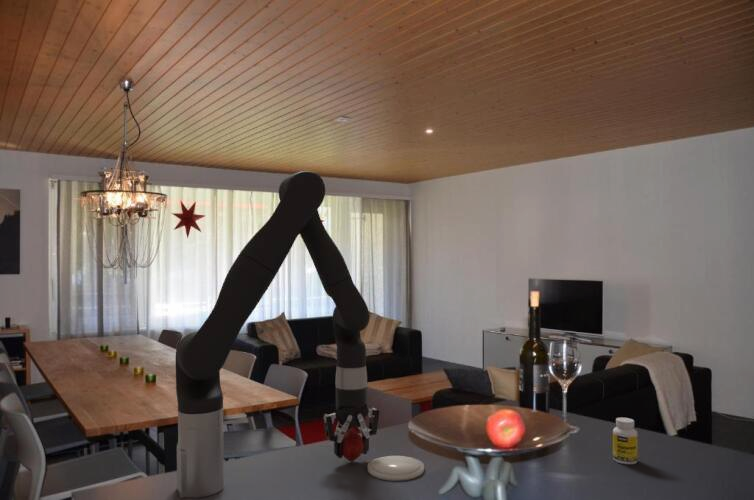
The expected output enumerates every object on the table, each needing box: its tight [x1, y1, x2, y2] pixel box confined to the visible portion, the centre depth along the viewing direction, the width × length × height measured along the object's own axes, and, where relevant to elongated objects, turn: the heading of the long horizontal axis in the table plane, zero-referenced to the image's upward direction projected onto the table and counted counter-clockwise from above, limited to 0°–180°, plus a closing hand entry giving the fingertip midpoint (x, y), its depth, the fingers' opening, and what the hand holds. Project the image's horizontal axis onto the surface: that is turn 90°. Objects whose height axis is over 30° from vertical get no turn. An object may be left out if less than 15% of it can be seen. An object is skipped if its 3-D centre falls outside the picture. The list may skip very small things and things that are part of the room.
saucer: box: [367, 455, 425, 482], centre depth 135 cm, size 13×13×1 cm
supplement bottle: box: [612, 417, 639, 465], centre depth 139 cm, size 5×5×10 cm
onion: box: [341, 427, 364, 463], centre depth 140 cm, size 6×6×8 cm
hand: (351, 454), depth 140 cm, fingers closed on onion, 5 cm apart
